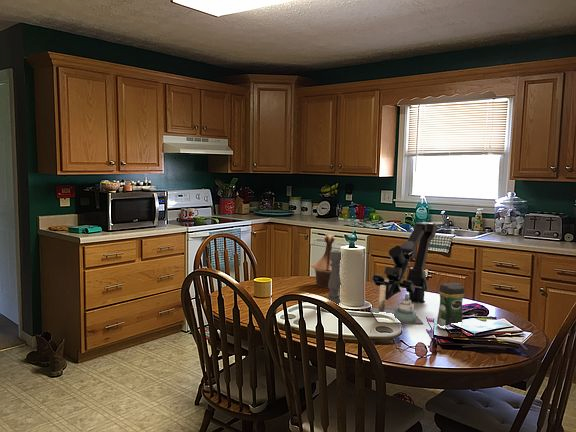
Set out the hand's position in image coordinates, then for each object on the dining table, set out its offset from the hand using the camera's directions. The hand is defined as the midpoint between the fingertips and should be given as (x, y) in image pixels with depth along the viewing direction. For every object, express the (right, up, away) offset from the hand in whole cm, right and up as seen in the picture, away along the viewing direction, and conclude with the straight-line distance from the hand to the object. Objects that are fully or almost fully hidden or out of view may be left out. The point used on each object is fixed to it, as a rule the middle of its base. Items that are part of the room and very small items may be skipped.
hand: (386, 299), depth 214 cm
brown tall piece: (-22, -1, +48) cm, 53 cm away
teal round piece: (+7, -8, -6) cm, 12 cm away
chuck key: (+3, -5, -5) cm, 8 cm away
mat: (+4, -7, -1) cm, 8 cm away
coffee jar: (+23, -10, -13) cm, 28 cm away
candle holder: (-22, -5, +14) cm, 26 cm away
